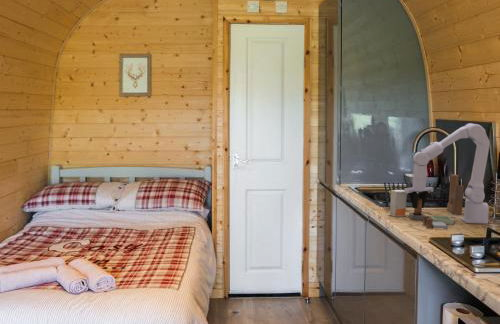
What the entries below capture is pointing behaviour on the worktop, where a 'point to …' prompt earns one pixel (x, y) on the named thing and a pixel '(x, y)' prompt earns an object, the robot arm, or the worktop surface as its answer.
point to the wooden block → (455, 196)
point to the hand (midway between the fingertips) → (418, 207)
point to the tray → (442, 219)
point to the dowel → (418, 207)
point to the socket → (416, 216)
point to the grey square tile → (439, 225)
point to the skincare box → (398, 203)
